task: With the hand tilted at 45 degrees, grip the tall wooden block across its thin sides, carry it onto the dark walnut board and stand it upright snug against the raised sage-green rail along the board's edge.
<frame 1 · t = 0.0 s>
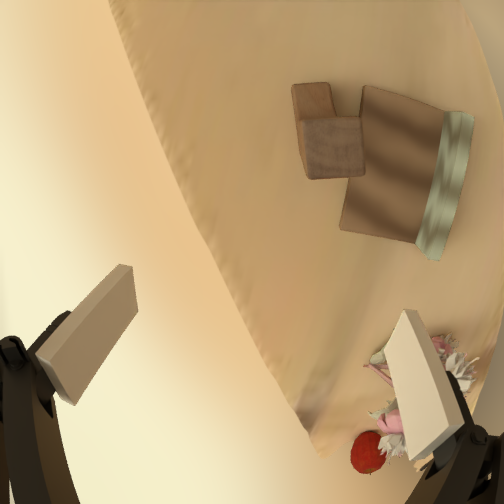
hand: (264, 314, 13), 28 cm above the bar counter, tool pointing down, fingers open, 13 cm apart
red rounded piece: (366, 433, 63), on the bar counter
wooden block: (312, 119, 34), on the bar counter
walnut edge board: (399, 168, 34), on the bar counter
flower: (416, 341, 47), on the bar counter
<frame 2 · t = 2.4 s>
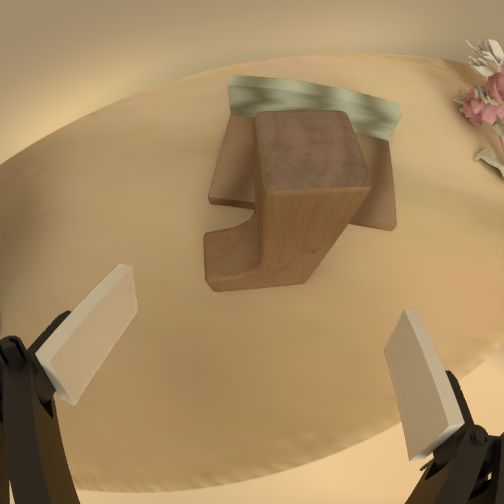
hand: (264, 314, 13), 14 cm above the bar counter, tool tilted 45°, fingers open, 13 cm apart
wooden block: (257, 266, 28), on the bar counter
walnut edge board: (308, 162, 32), on the bar counter
flower: (474, 136, 35), on the bar counter
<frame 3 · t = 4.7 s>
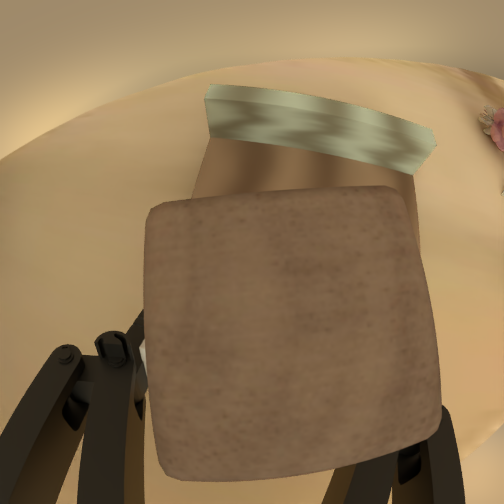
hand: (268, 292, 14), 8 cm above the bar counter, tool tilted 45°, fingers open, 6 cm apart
wooden block: (234, 350, 21), on the bar counter, touching gripper
walnut edge board: (311, 206, 25), on the bar counter
flower: (500, 163, 28), on the bar counter
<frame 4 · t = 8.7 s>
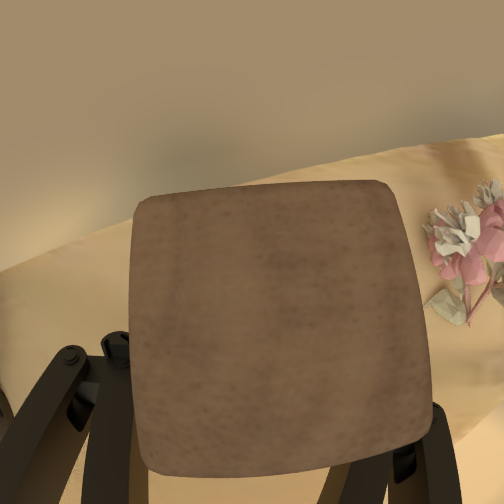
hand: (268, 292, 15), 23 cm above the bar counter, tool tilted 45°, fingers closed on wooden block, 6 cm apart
wooden block: (231, 350, 21), point 16 cm above the bar counter, touching gripper
flower: (437, 267, 39), on the bar counter
when the fingers open (9 cm above the bar counter, at t = 11.8 s): wooden block stays where it is, resting on walnut edge board.
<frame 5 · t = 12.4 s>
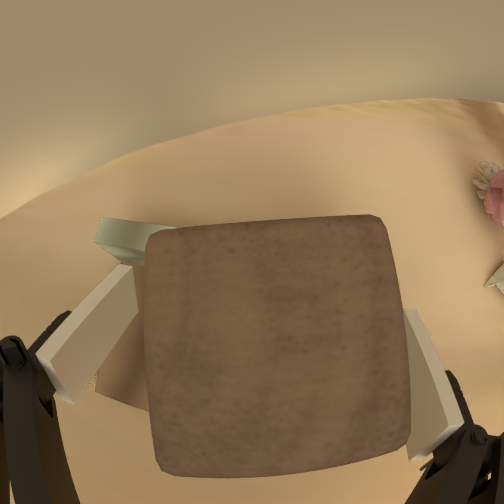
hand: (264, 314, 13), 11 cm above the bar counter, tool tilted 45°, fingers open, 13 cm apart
wooden block: (232, 350, 21), point 1 cm above the bar counter, touching walnut edge board
walnut edge board: (221, 344, 23), on the bar counter
flower: (493, 237, 25), on the bar counter
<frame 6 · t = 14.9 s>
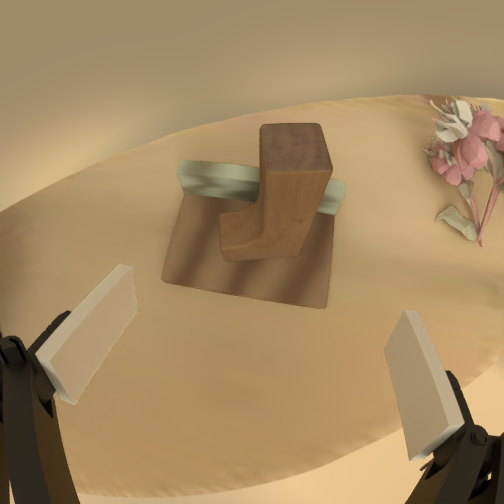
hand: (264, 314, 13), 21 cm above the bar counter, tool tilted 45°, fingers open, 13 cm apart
wooden block: (260, 242, 35), point 1 cm above the bar counter, touching walnut edge board
walnut edge board: (252, 242, 37), on the bar counter
flower: (442, 189, 39), on the bar counter
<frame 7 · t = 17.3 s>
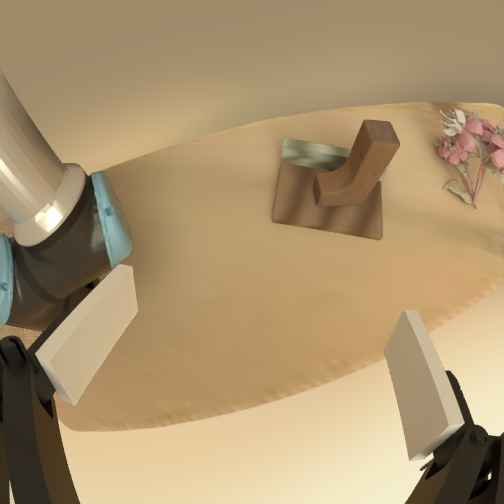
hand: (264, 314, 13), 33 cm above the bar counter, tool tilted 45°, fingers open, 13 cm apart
wooden block: (337, 196, 50), point 1 cm above the bar counter, touching walnut edge board
walnut edge board: (330, 197, 52), on the bar counter
flower: (447, 170, 54), on the bar counter
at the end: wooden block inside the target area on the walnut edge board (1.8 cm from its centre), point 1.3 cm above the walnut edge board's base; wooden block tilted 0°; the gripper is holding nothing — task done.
